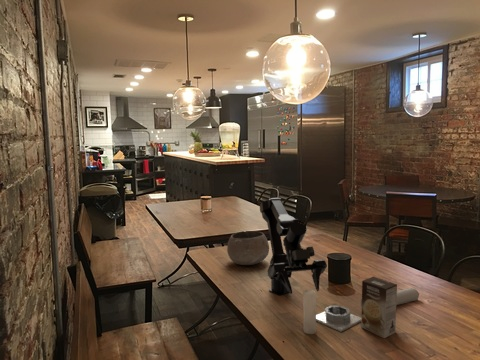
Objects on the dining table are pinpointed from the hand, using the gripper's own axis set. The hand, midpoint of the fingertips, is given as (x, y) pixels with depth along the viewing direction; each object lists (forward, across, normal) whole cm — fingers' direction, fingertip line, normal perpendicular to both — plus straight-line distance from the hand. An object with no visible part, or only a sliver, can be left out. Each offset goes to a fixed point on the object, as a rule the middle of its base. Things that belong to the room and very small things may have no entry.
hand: (304, 292), depth 131 cm
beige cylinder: (+11, 0, +5) cm, 12 cm away
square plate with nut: (+7, +12, +9) cm, 17 cm away
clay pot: (-40, -4, +56) cm, 69 cm away
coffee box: (+14, +22, +2) cm, 26 cm away
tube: (+3, +36, +14) cm, 39 cm away
